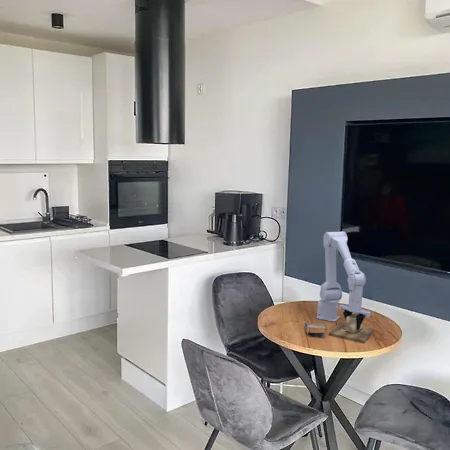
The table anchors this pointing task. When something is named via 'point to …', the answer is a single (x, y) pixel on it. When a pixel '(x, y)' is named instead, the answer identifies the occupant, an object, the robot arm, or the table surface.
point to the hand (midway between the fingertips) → (353, 328)
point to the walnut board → (358, 337)
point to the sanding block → (352, 324)
